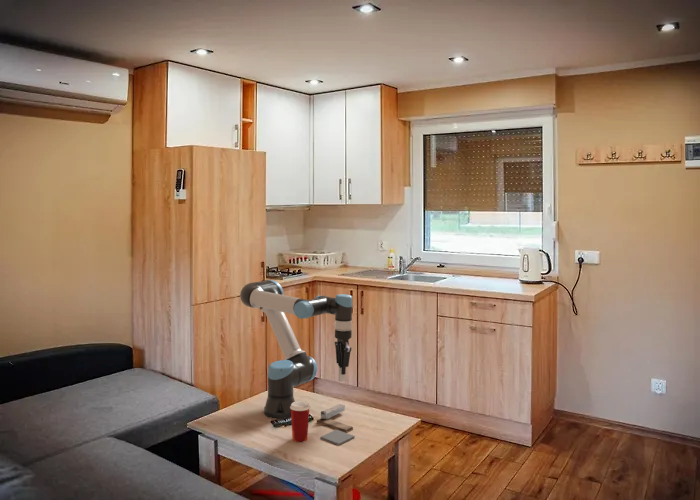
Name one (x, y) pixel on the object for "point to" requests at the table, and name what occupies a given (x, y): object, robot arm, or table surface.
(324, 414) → the bar
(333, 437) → the slate pad
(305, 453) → the table surface
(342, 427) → the base
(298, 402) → the coffee cup
